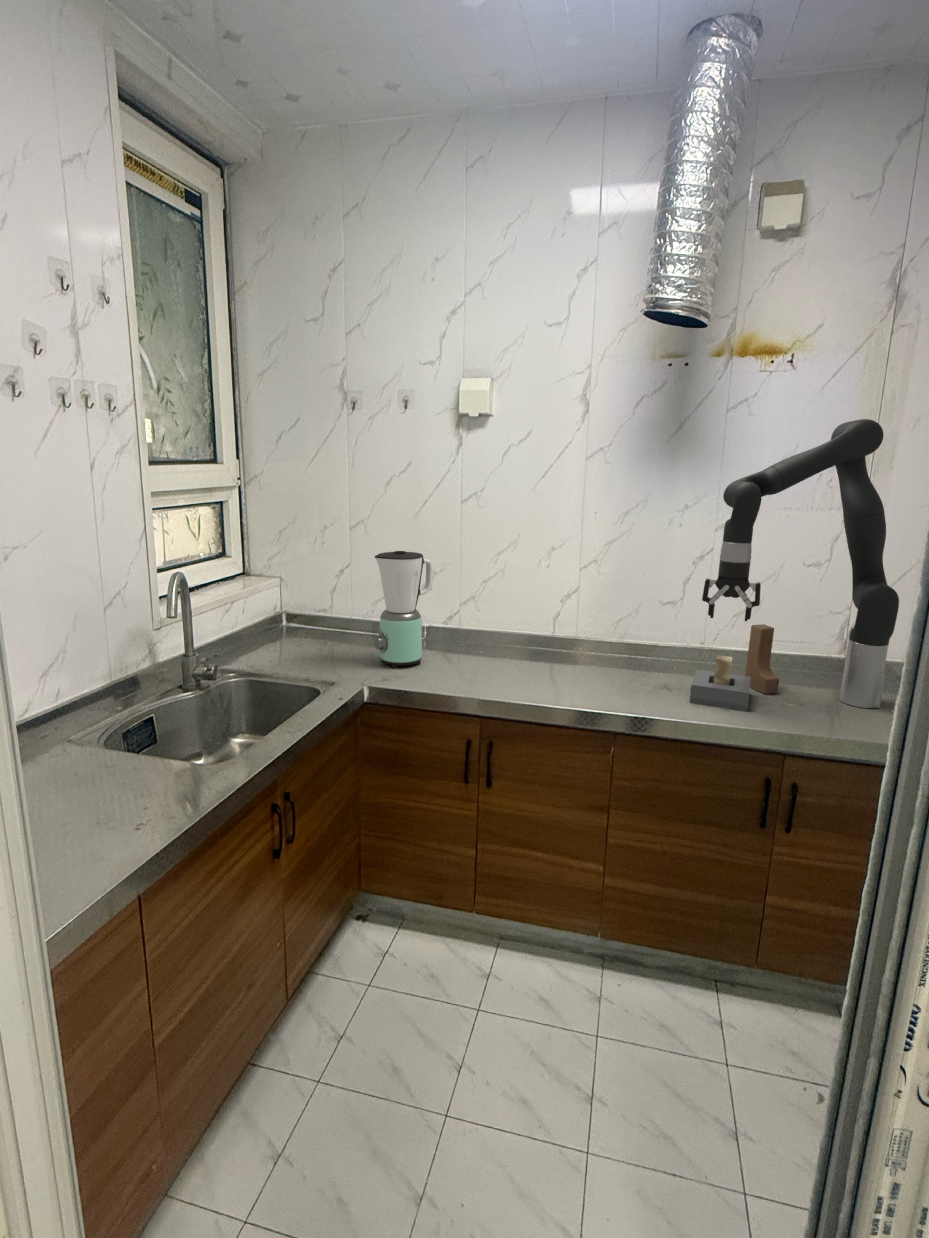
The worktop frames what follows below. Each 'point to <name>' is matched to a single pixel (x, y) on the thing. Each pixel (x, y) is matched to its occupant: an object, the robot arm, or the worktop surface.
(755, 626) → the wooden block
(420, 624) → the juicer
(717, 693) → the socket stand
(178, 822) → the worktop surface
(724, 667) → the beech peg
